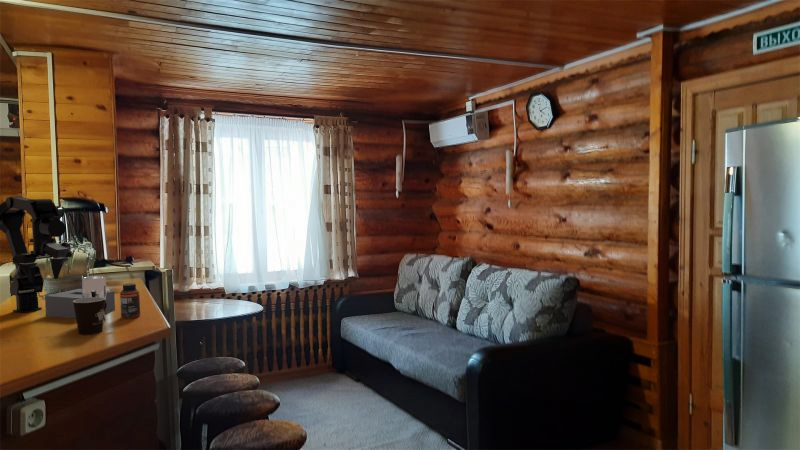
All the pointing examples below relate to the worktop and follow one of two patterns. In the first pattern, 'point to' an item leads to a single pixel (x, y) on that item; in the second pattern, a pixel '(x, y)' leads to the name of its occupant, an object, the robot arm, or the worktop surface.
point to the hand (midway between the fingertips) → (44, 280)
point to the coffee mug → (90, 314)
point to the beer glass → (94, 288)
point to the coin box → (71, 303)
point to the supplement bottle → (130, 301)
